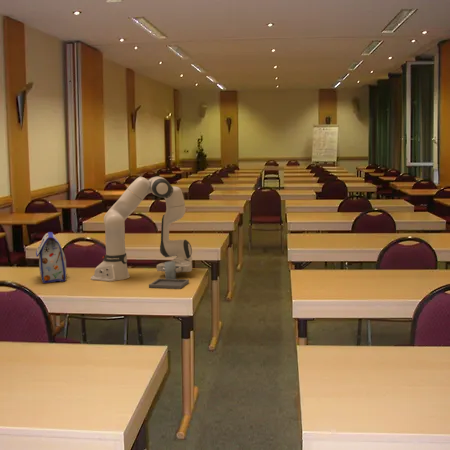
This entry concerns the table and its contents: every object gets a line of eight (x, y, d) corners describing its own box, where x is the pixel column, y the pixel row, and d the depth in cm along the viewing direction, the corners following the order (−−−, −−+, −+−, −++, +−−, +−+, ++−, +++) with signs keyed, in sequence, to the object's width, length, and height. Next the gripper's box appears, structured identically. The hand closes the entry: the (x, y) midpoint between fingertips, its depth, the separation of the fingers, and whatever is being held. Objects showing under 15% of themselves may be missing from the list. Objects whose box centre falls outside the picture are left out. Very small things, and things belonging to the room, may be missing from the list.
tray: (149, 287, 347) (148, 284, 347) (158, 281, 360) (158, 278, 360) (180, 288, 342) (180, 285, 342) (188, 282, 356) (188, 279, 355)
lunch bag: (37, 276, 386) (34, 232, 382) (66, 273, 390) (62, 230, 386) (38, 284, 364) (34, 238, 360) (68, 281, 369) (64, 235, 365)
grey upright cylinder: (163, 280, 363) (162, 263, 361) (167, 278, 368) (166, 261, 367) (173, 280, 361) (172, 263, 360) (177, 278, 367) (176, 261, 365)
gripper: (161, 259, 379) (152, 264, 365) (194, 260, 373) (186, 265, 360) (161, 269, 380) (152, 275, 366) (194, 270, 374) (186, 276, 361)
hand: (169, 270), depth 363 cm, fingers closed on grey upright cylinder, 6 cm apart
